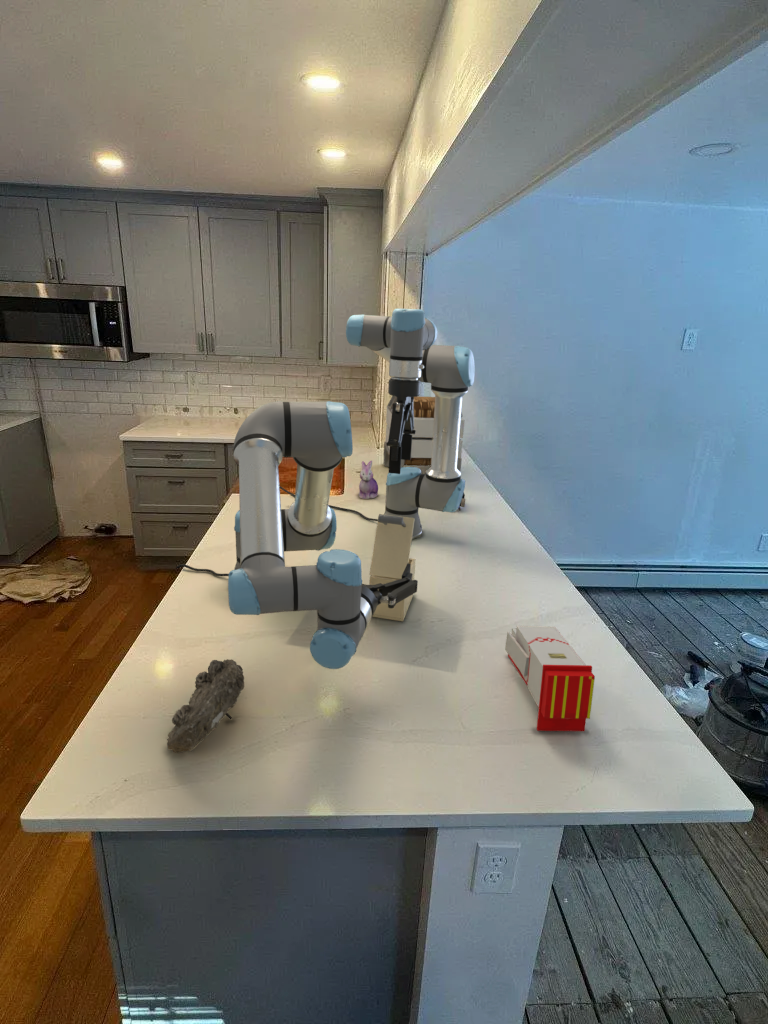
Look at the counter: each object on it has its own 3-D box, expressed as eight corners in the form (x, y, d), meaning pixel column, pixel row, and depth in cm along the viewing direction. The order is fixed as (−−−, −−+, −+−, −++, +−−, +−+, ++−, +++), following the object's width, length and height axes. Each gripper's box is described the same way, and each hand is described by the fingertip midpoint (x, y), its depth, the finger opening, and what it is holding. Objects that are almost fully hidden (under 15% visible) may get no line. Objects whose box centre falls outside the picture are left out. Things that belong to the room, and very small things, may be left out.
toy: (551, 610, 133) (604, 672, 104) (546, 663, 136) (596, 738, 106) (500, 609, 132) (538, 671, 103) (496, 662, 135) (532, 737, 106)
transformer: (382, 463, 289) (386, 382, 275) (445, 464, 293) (451, 384, 279) (390, 482, 257) (394, 392, 243) (460, 483, 261) (468, 394, 247)
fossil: (192, 660, 117) (244, 628, 112) (224, 691, 120) (276, 661, 115) (142, 746, 98) (202, 712, 93) (182, 779, 101) (242, 748, 96)
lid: (379, 514, 145) (372, 507, 136) (414, 518, 143) (410, 512, 135) (370, 574, 142) (362, 571, 134) (405, 580, 141) (400, 577, 132)
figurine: (363, 500, 232) (364, 465, 227) (352, 493, 240) (353, 459, 235) (383, 498, 236) (385, 463, 231) (372, 491, 244) (373, 457, 239)
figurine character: (465, 515, 224) (460, 499, 237) (467, 498, 221) (462, 483, 234) (448, 515, 224) (444, 499, 237) (450, 498, 220) (445, 482, 234)
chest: (381, 590, 159) (382, 554, 155) (413, 595, 157) (415, 558, 154) (368, 616, 146) (369, 577, 142) (403, 621, 144) (405, 582, 140)
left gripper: (293, 617, 113) (326, 572, 132) (416, 637, 108) (432, 587, 127) (292, 583, 110) (327, 542, 130) (418, 602, 105) (434, 557, 125)
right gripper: (411, 385, 121) (405, 481, 128) (428, 374, 144) (423, 455, 151) (376, 383, 122) (373, 477, 129) (399, 372, 145) (395, 453, 152)
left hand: (379, 564), depth 129 cm, fingers open, 13 cm apart
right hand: (400, 466), depth 140 cm, fingers open, 13 cm apart
